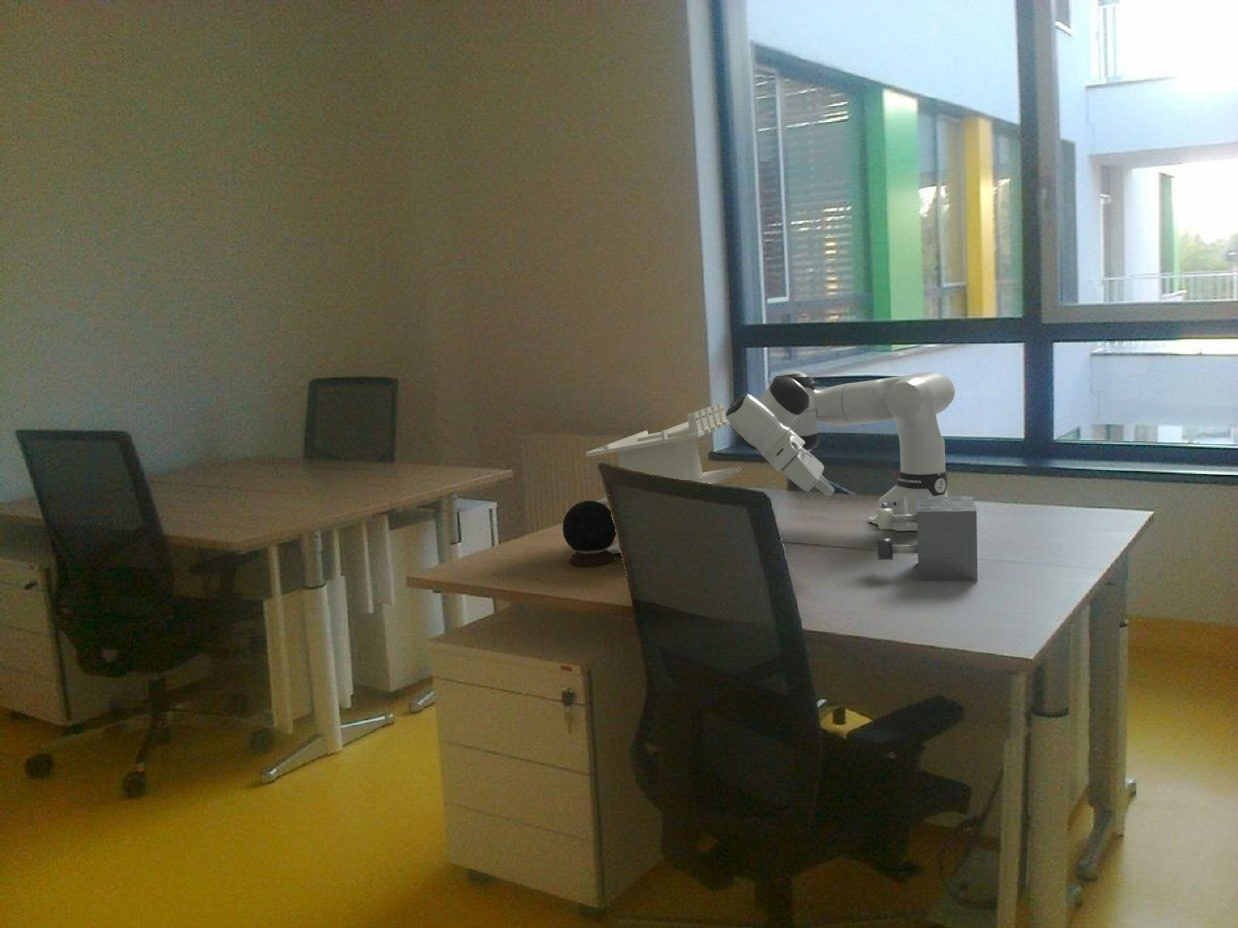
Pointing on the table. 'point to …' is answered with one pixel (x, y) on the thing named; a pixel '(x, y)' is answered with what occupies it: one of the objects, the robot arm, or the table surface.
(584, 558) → the black crystal ball
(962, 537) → the control box
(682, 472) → the white spaceship model
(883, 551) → the charcoal knob
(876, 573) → the table surface
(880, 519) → the ivory knob
